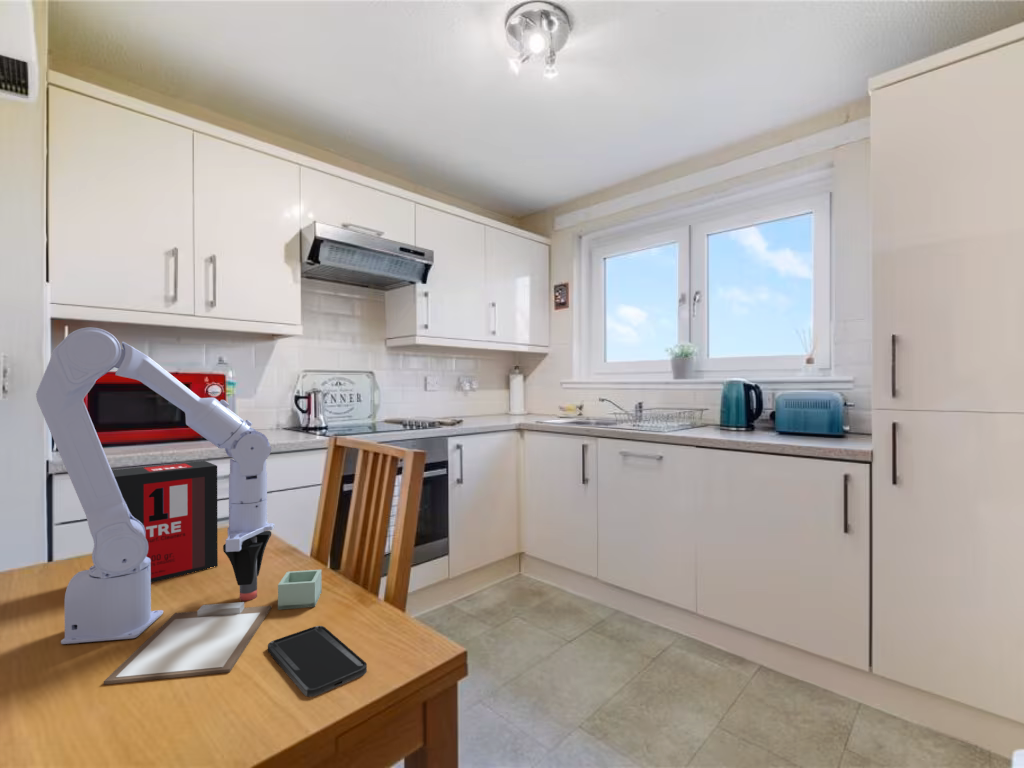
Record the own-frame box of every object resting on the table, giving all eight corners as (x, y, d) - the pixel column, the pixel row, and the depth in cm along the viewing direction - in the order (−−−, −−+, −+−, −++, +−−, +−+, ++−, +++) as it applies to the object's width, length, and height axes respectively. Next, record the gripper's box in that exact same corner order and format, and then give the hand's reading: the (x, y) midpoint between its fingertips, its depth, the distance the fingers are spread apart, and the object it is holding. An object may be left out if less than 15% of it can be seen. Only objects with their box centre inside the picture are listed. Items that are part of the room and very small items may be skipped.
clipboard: (103, 684, 60) (103, 672, 60) (175, 615, 78) (175, 606, 78) (229, 672, 63) (229, 661, 63) (271, 608, 80) (271, 599, 80)
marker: (237, 601, 83) (237, 541, 83) (242, 594, 85) (242, 536, 85) (254, 600, 83) (254, 540, 83) (259, 593, 86) (259, 535, 86)
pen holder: (277, 609, 80) (277, 584, 80) (287, 594, 85) (287, 571, 85) (314, 606, 81) (314, 582, 81) (321, 592, 86) (321, 569, 86)
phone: (321, 624, 74) (370, 665, 63) (321, 631, 74) (370, 674, 63) (264, 643, 68) (307, 693, 57) (264, 651, 68) (307, 702, 57)
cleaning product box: (110, 592, 86) (110, 477, 86) (103, 578, 93) (103, 470, 93) (217, 566, 98) (217, 465, 98) (204, 555, 105) (204, 460, 104)
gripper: (260, 509, 78) (260, 596, 78) (284, 489, 92) (284, 563, 92) (210, 511, 77) (211, 600, 77) (243, 491, 91) (243, 565, 91)
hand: (248, 580), depth 84 cm, fingers open, 3 cm apart
